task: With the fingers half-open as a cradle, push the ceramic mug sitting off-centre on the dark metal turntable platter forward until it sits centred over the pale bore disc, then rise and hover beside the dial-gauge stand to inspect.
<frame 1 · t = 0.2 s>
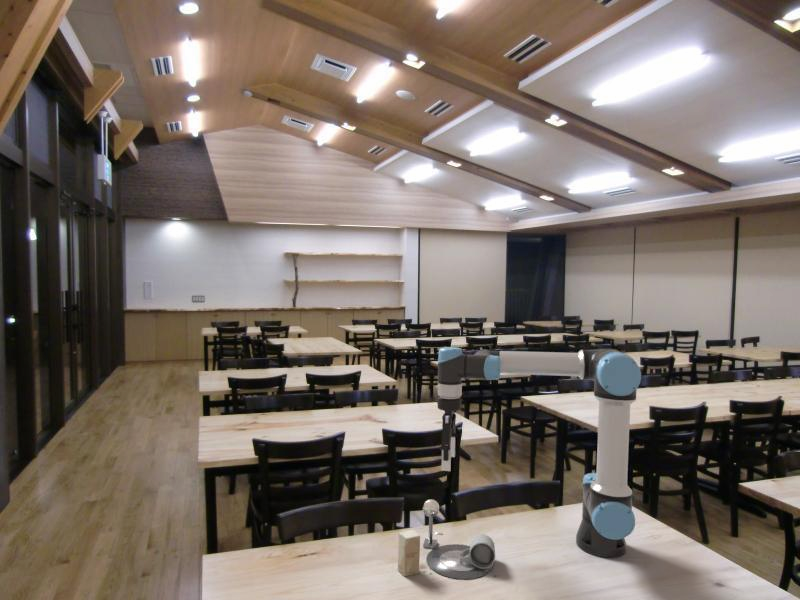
hand: (448, 463, 166), 27 cm above the table, fingers open, 13 cm apart
platter: (459, 561, 159), on the table
ceramic mug: (477, 563, 158), resting on platter
dial stand: (430, 545, 169), on the table
box: (408, 572, 153), on the table
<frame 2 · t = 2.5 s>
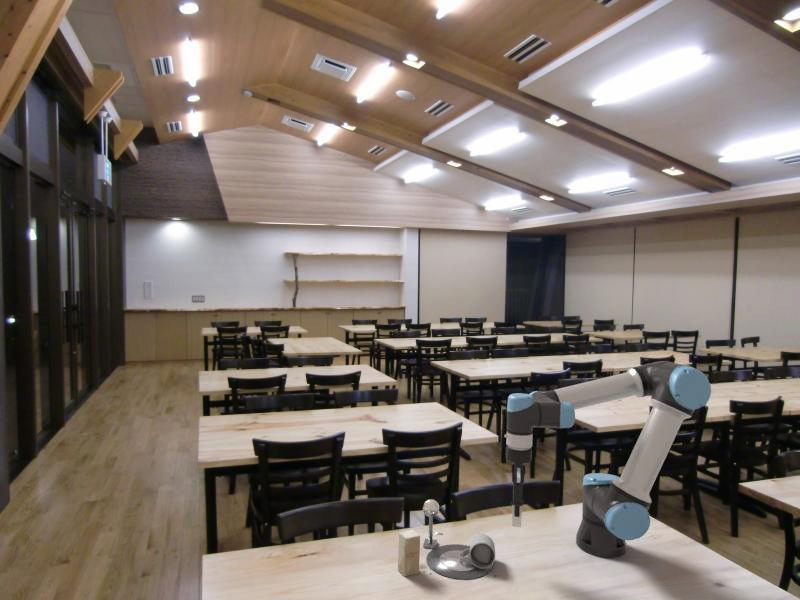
hand: (516, 525, 156), 13 cm above the table, fingers closed
nothing on the table moved.
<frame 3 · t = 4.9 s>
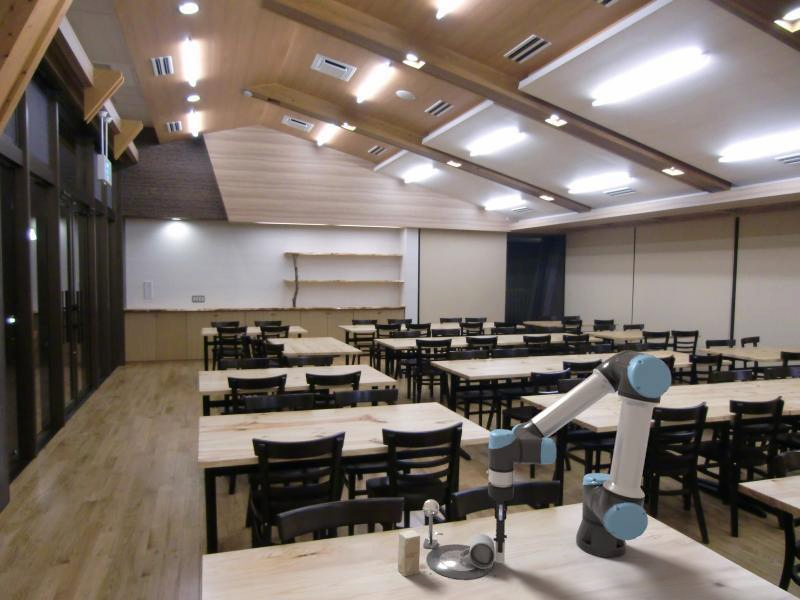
hand: (499, 561, 157), 2 cm above the table, fingers closed
ceramic mug: (477, 563, 158), resting on platter, touching gripper
everything else where it was.
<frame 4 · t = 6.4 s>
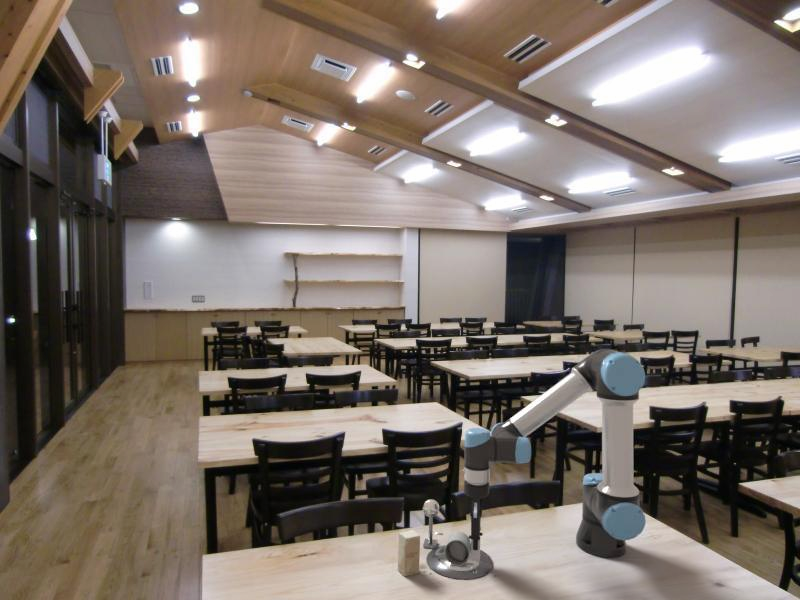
hand: (475, 558, 158), 1 cm above the table, fingers closed
ceramic mug: (453, 560, 160), resting on platter
everything else where it was.
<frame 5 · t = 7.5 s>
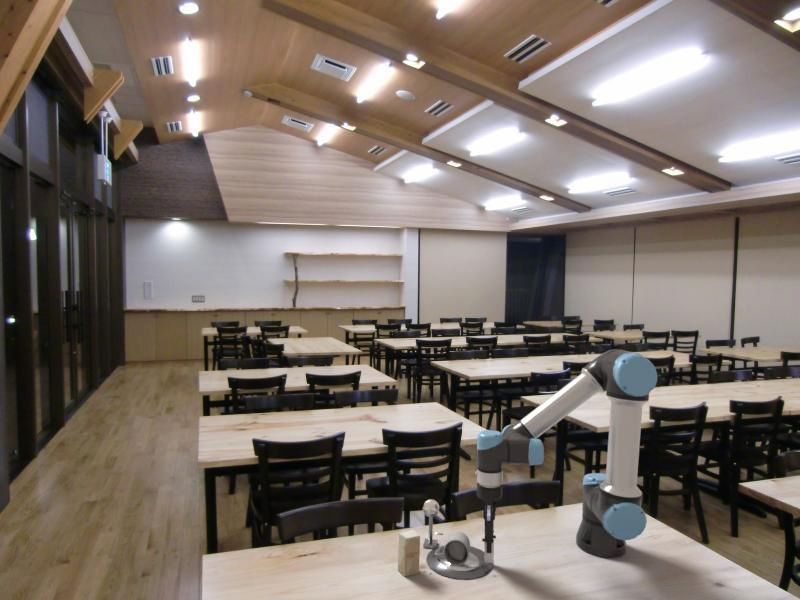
hand: (489, 561, 158), 1 cm above the table, fingers closed
nothing on the table moved.
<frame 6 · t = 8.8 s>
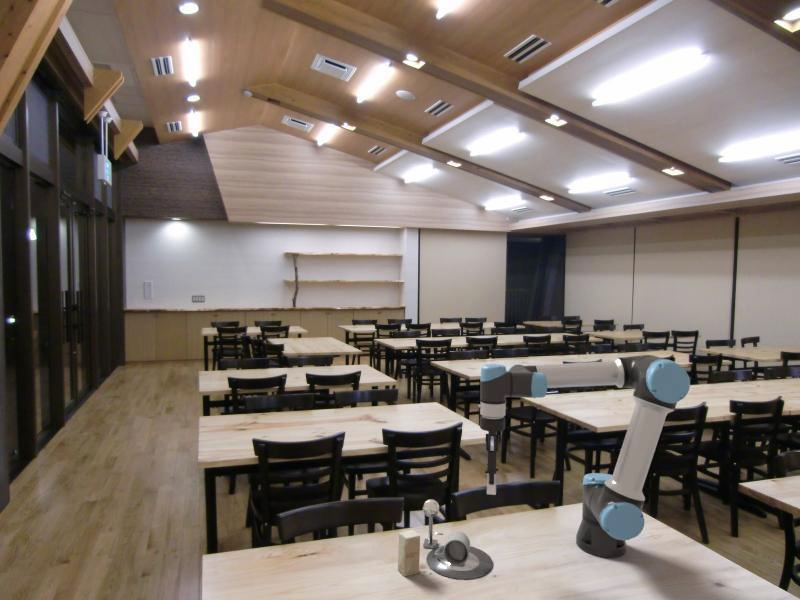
hand: (491, 493, 159), 21 cm above the table, fingers closed
nothing on the table moved.
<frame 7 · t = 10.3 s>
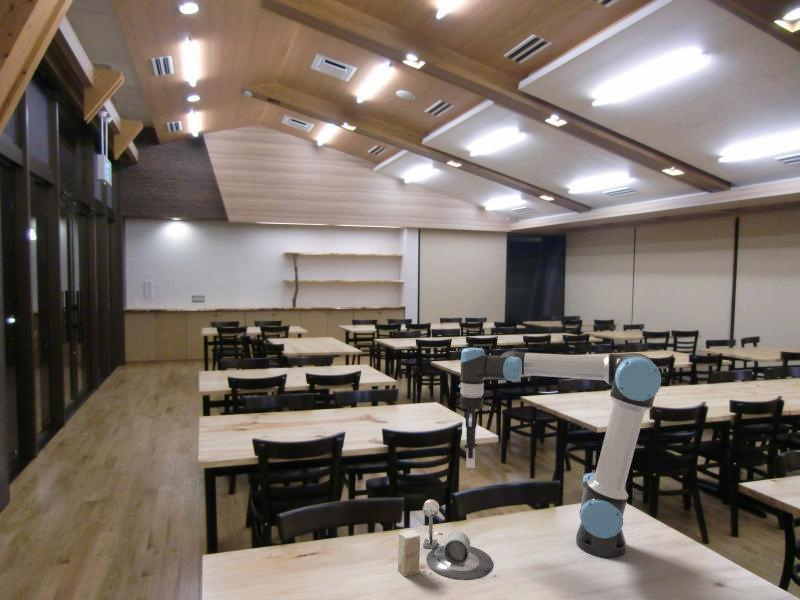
hand: (470, 466, 172), 24 cm above the table, fingers closed
nothing on the table moved.
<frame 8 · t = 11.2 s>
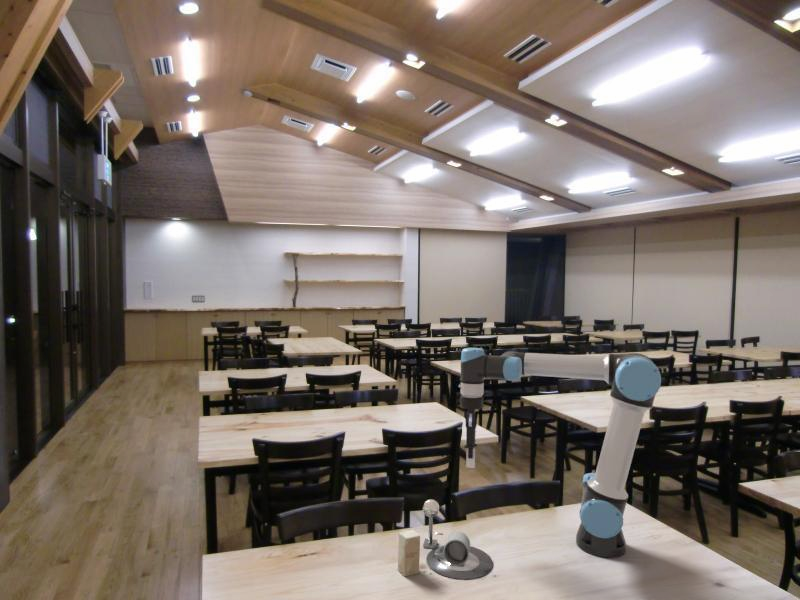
hand: (470, 466, 172), 24 cm above the table, fingers closed
nothing on the table moved.
at the end: ceramic mug 2.0 cm from the platter (horizontally); ceramic mug tilted 2°; ceramic mug touching platter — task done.
